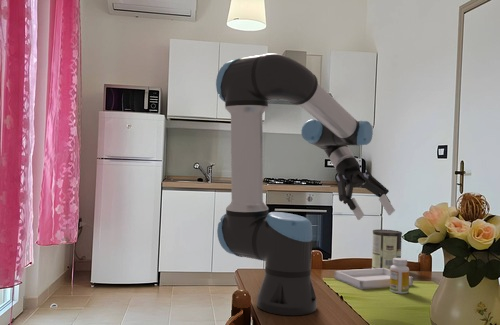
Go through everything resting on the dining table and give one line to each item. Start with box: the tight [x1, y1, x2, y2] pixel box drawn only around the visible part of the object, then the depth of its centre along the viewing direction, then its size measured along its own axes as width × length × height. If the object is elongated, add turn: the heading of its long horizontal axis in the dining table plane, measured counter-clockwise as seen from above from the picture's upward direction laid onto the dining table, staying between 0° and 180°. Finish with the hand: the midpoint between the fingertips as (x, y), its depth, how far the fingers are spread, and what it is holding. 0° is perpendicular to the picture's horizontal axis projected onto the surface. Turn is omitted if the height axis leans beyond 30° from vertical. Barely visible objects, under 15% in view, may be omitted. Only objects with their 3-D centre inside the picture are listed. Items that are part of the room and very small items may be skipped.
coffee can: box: [371, 229, 403, 270], centre depth 166 cm, size 10×10×14 cm
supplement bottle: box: [389, 257, 410, 295], centre depth 135 cm, size 5×5×10 cm
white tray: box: [334, 268, 414, 290], centre depth 146 cm, size 20×14×2 cm
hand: (377, 215), depth 143 cm, fingers open, 13 cm apart
